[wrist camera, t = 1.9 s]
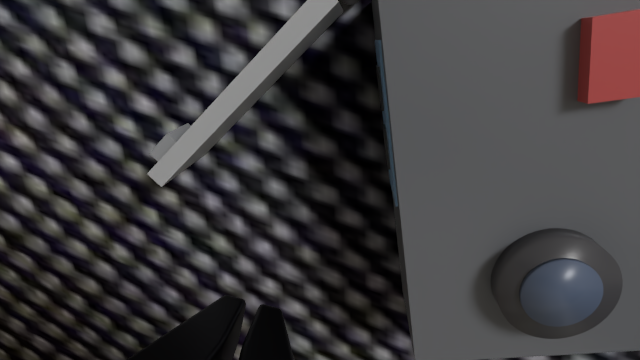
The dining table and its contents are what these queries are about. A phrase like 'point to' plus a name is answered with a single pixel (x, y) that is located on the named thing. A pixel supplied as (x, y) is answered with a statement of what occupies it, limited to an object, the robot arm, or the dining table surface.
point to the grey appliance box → (514, 173)
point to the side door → (244, 89)
